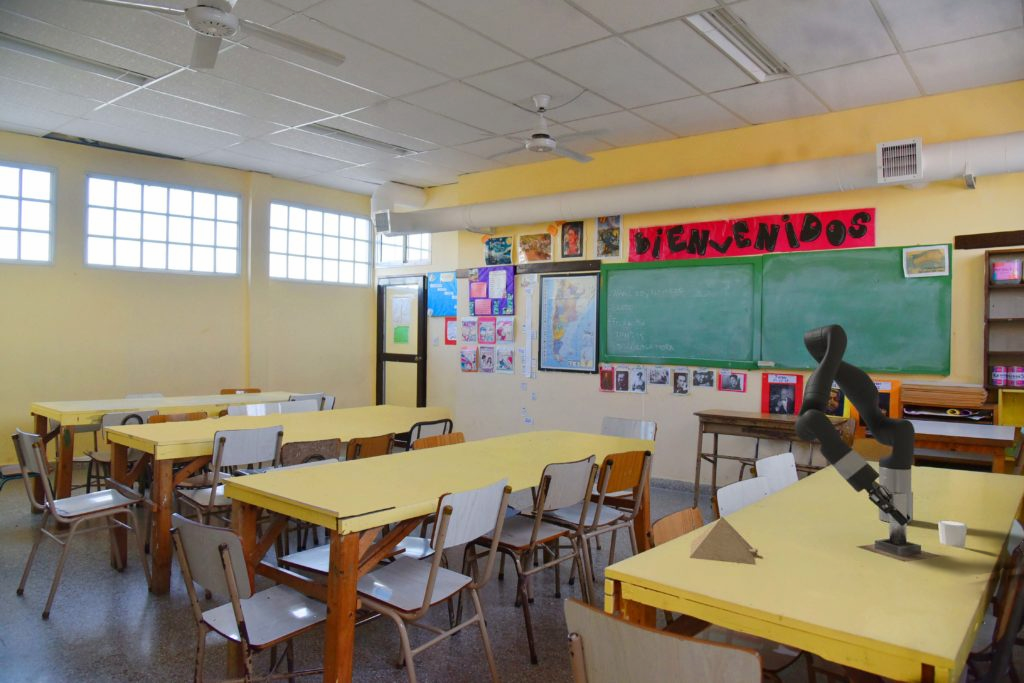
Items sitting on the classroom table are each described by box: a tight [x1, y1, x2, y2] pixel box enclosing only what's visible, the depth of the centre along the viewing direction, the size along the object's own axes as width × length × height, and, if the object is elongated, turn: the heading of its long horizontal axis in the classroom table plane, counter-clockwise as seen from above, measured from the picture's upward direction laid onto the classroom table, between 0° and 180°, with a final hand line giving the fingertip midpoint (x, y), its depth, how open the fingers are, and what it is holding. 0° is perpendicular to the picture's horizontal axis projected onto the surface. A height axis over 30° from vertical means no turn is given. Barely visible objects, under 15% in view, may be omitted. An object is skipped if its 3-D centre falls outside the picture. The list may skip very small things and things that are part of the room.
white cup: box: [937, 519, 968, 550], centre depth 185 cm, size 7×7×7 cm
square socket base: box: [856, 538, 940, 563], centre depth 177 cm, size 14×14×3 cm
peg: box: [888, 492, 908, 545], centre depth 177 cm, size 4×4×13 cm
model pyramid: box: [689, 516, 759, 566], centre depth 177 cm, size 17×17×10 cm
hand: (906, 521), depth 176 cm, fingers closed on peg, 4 cm apart
